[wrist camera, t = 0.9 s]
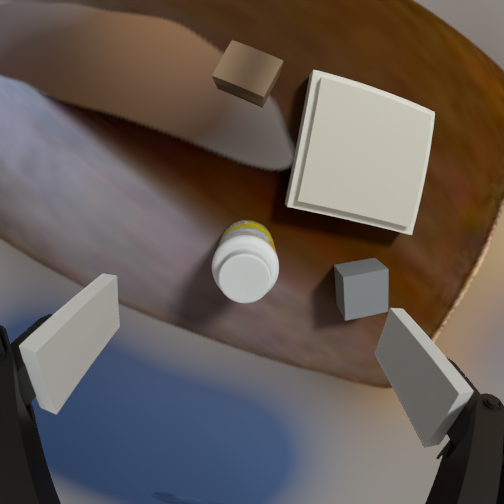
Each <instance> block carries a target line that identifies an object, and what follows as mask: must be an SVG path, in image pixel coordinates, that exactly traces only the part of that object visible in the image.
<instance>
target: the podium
mask: <svg viewBox="0 0 504 504" xmlns="http://www.w3.org/2000/svg"><path fill="white" fill-rule="evenodd" d="M434 118H435V112H434V111H431V110H429V109H427V108H425V107H422V106H420V105H418V104H415V103H413V102H411V101H408V100H406V99H403V98H401V97H398V96H396V95H393V94H390V93H388V92H385V91H382V90H379V89H377V88H374V87H371V86H368V85H365V84H362V83H359V82H356V81H352V80H349V79H346V78H343V77H339V76H336V75H332V74H328V73H325V72H321V71H317V70H313V71H312V73H311V74H310V76H309V81H308V86H307V92H306V97H305V103H304V108H303V113H302V119H301V124H300V129H299V134H298V139H297V145H296V150H295V155H294V160H293V165H292V170H291V175H290V180H289V185H288V190H287V195H286V200H285V205H286V206H287V207H291V208H295V209H300V210H305V211H310V212H315V213H319V214H324V215H329V216H333V217H338V218H342V219H347V220H351V221H355V222H360V223H364V224H368V225H373V226H377V227H381V228H385V229H389V230H393V231H397V232H401V233H405V234H409V235H412V232H413V228H414V224H415V220H416V216H417V212H418V208H419V204H420V199H421V195H422V190H423V186H424V181H425V176H426V170H427V165H428V159H429V153H430V147H431V140H432V133H433V126H434Z"/></svg>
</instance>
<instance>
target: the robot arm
mask: <svg viewBox="0 0 504 504" xmlns="http://www.w3.org/2000/svg"><path fill="white" fill-rule="evenodd" d="M119 327H120V322H119V309H118V291H117V276H116V275H110V274H104V273H103V274H102V275H100V276H99V277H98V278H97V279H95V280H94V281H93V282H92V283H90V284H89V285H88V286H87V287H86V288H84V289H83V290H82V291H81V292H80V293H78V294H77V295H76V296H75V297H73V298H72V299H71V300H70V301H69V302H68V303H66V304H65V305H64V306H63V307H62V308H60V309H59V310H58V311H57V312H56V313H55V314H54V315H51V314H49V315H47V316H44V317H42V318H40V319H39V320H38V321H36V322H35V323H34V324H33V326H31V327H29V328H28V329H27V331H25V332H24V333H23V334H21V335H20V336H19V337H18V338H17V339H16V340H15V341H14V342H13V343H11V344H10V342H9V339H8V335H7V332H6V329H5V328H4V327H3V326H1V325H0V504H61V503H60V501H59V498H58V495H57V493H56V490H55V487H54V484H53V482H52V479H51V475H50V472H49V469H48V466H47V463H46V459H45V456H44V452H43V448H42V445H41V441H40V437H39V433H38V428H37V424H36V419H35V414H34V409H33V407H32V404H31V402H32V400H33V399H34V398H35V396H36V398H37V400H38V403H39V405H40V407H41V408H42V409H45V410H47V411H49V412H52V413H54V414H57V413H58V412H59V410H60V409H61V407H62V406H63V405H64V403H65V402H66V400H67V399H68V397H69V396H70V394H71V393H72V391H73V390H74V388H75V387H76V385H77V384H78V383H79V381H80V380H81V378H82V377H83V376H84V374H85V373H86V371H87V370H88V369H89V367H90V366H91V364H92V363H93V362H94V360H95V359H96V358H97V356H98V355H99V353H100V352H101V351H102V349H103V348H104V347H105V345H106V344H107V343H108V341H109V340H110V338H111V337H112V336H113V334H114V333H115V332H116V331H117V329H118V328H119ZM374 355H375V357H376V359H377V360H378V362H379V364H380V366H381V367H382V369H383V371H384V373H385V375H386V376H387V378H388V380H389V382H390V384H391V385H392V387H393V389H394V391H395V392H396V394H397V397H398V398H399V400H400V402H401V404H402V406H403V408H404V410H405V412H406V413H407V415H408V417H409V419H410V421H411V423H412V425H413V427H414V429H415V431H416V433H417V435H418V437H419V439H420V440H421V443H422V445H423V446H424V448H425V447H430V446H434V445H439V444H440V442H441V441H442V440H443V438H444V437H445V435H446V434H448V436H449V438H450V440H449V442H448V443H447V444H446V446H445V447H444V448H443V450H442V451H441V452H440V454H439V455H438V456H437V459H439V458H440V456H442V455H443V456H442V460H441V463H440V466H439V469H438V472H437V475H436V477H435V480H434V483H433V486H432V488H431V491H430V493H429V496H428V498H427V501H426V503H425V504H504V406H503V404H502V403H501V401H500V400H499V399H498V398H497V397H495V396H493V395H491V394H480V393H479V392H478V390H477V389H476V388H475V387H474V386H473V384H472V383H471V382H470V381H469V379H468V378H467V377H465V375H464V373H463V372H462V371H460V369H459V368H458V366H457V365H456V364H455V363H454V362H453V361H451V360H450V359H448V358H447V357H445V356H444V355H443V354H442V352H441V351H440V350H439V349H438V347H437V346H436V345H435V344H434V343H433V342H432V341H431V339H430V338H429V337H428V336H427V335H426V334H425V333H424V331H423V330H422V329H421V328H420V327H419V326H418V325H417V324H416V323H415V321H414V320H413V319H412V318H411V317H410V316H409V315H408V314H407V313H406V312H405V311H404V309H399V308H390V310H389V313H388V316H387V319H386V322H385V325H384V328H383V331H382V334H381V337H380V340H379V343H378V346H377V348H376V351H375V354H374Z"/></svg>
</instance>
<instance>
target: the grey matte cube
mask: <svg viewBox="0 0 504 504" xmlns="http://www.w3.org/2000/svg"><path fill="white" fill-rule="evenodd" d="M334 274H335V288H336V304H337V307H338V308H339V310H340V312H341V314H342V316H343V318H344V319H345V321H346V320H351V319H356V318H361V317H366V316H370V315H375V314H379V313H384V312H388V268H387V267H385V266H384V265H383V264H382V263H381V262H380V261H378V260H377V259H376V258H371V259H365V260H360V261H354V262H348V263H342V264H336V265H334Z"/></svg>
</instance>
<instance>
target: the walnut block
mask: <svg viewBox="0 0 504 504" xmlns="http://www.w3.org/2000/svg"><path fill="white" fill-rule="evenodd" d="M282 64H283V60H281V59H278V58H276V57H274V56H272V55H269V54H267V53H264V52H262V51H259V50H257V49H254V48H252V47H249V46H247V45H244V44H241V43H239V42H236V41H233V40H232V41H231V43H230V44H229V46H228V48H227V50H226V51H225V53H224V55H223V56H222V58H221V60H220V62H219V63H218V65H217V67H216V69H215V71H214V72H213V74H212V77H213V79H214V81H215V83H216V85H217V87H218V89H220V90H222V91H225V92H227V93H230V94H232V95H234V96H237V97H239V98H242V99H244V100H246V101H249V102H251V103H253V104H256V105H258V106H260V107H263V105H264V103H265V101H266V100H267V98H268V96H269V94H270V92H271V90H272V88H273V86H274V84H275V83H276V81H277V79H278V77H279V74H280V71H281V67H282Z"/></svg>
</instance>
